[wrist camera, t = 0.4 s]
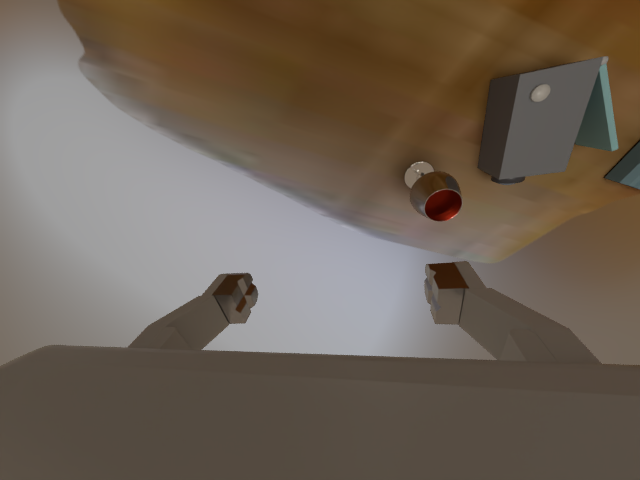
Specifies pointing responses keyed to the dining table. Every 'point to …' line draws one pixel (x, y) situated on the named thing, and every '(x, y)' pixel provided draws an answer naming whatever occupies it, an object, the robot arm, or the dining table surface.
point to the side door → (599, 116)
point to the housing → (535, 120)
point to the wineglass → (433, 192)
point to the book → (628, 169)
